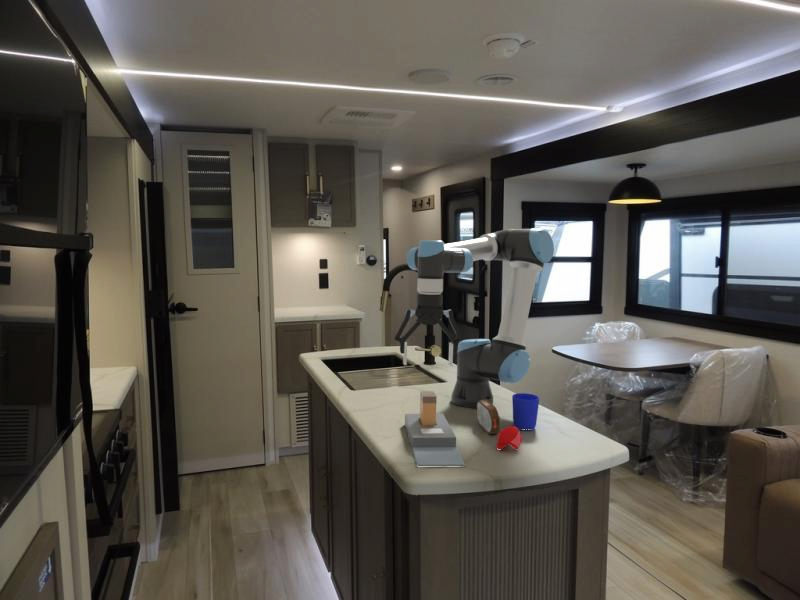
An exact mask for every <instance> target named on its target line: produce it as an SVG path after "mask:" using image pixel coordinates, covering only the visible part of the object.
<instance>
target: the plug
mask: <svg viewBox="0 0 800 600" xmlns="http://www.w3.org/2000/svg"><path fill="white" fill-rule="evenodd" d="M419 397H420V398H419V402H420V403H419V414H420V424H421V425H436V414H437V395H436V393H435V391H433V390H431V391H430V390H429V391H425V390H423V391H422V390H421V391H420V396H419Z"/></svg>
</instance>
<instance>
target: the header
mask: <svg viewBox="0 0 800 600" xmlns="http://www.w3.org/2000/svg"><path fill="white" fill-rule="evenodd" d="M404 427H405V430H406V433H407V437H408V439H409V443H411V444H410V447H411V450H412V451H413V447H456V448H457V436H456V434H455V432H454V431H453V429H452V427H451V425H450V424H449V422H448V420H447V418H446V416H445V415H444V413H436V425H421V424H420V413H404Z"/></svg>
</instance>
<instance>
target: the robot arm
mask: <svg viewBox="0 0 800 600" xmlns="http://www.w3.org/2000/svg"><path fill="white" fill-rule="evenodd" d="M554 248H555V245H554V241H553V239H552V236H551V233H549V232H548V230H546V229H544V228H536V227H532V228H507V229H502V230H497V231H494V232H490V233H486V234H482V235H480V236H479V237H477V238H473V239H467V240H461V241H455V242H448V243H445V242H444V241H443V240H433V239H432V240H429V239H428V240H427V239H422V240H420V241H419V243H418V247H417V246H416V247H412V248H411V249H409V250H408V252H407V253H406V264H407V266H408V267H409V269H411V270H412V271H417V286H416V287H417V289H416V291H417V292H418V293H417V294H416V309H410V308H406V309H405V314H404V317H403V319H402V321H401V323H400V325H399V327H398V329H397V331H395V332H396V333H395V334H394V336H393V339H394V341H397V342H399V352H400V354H403V360H402V364H403V365H404V366H408V362H407V361H408V342H407V339H409V337H410V336H411V335H412V334H413V333H414V332H415V331H417V328H419V327H420V326H421V325H423V326H428V325H431V326H435V325H438V326H439V327H440V328H441V330H442V331H443V332H444V333H445V335H447V337H448V338H449V340H450V342H448V365H449V366H453V362H454V361H453V360H454V359H453V358H454V355H457V356H456V382H455V385H454V386H453V390H452V391H451V392H452V393H451V396H450V397H451V399H450V402H451V403H452V404H454V405H456V406H460V407H463V408H464V407H465V408H472V409H473V408H474V409H477V402H478V401H479V400H486V399H487V400H488V401H489V402H490V403H491V404H493V405H494V395H493V391H492V388H491V385H490V379H492V380H496V381H500V382H503V383H509V384H517V383H519V382H521V381H522V380H523V379H524V378H525V377H526V375H527V373H528V372H529V370H530V365H531V359H530V357H531V356H530V354H529V353H528V352H527V351H526V349H527V345H526V343H525V342H524V338H525V332H526V327H527V323H528V318H529V313H530V310H531V309H530V308H531V304H532V301H533V296H534V295H533V294H534V290H535V285H536V282H537V281H536V280H537V275H538V274H539V273H540V272H542V271H543V269H544V265H545V264H547V263H549V262H551V260H552V259H553V255H554V252H555V249H554ZM479 260H480V261H481V260H483V261H486V262H491V261H504V262H505V261H506V262H509V263H508V264H509V265H510V267H511V268H512V269H511V273H510V274H511V275H510V279H509V283H508V288H507V293H506V296H505V297H506V298H505V302H504V305H503V310H502V316H501V321H500V324H499V328H498V333H497V335H496V336H495V337H493V338H492V340H490V339H489V338H470V339H464V337H463V335H462V334H461V331H460V329H459V326H458V325H457V322H456V320H455V318H454V311H453V310H452V309H450V308H449V309H447V310H443V300H444V299H443V297H444V296H443V294H442V293H443V291H444V273H448V274H449V273H451V274H452V273H454V274H455V273H456V274H458V273H459V274H461V273H466V272H469V270H471V268H472V266H473V264H474V262H476V261H479ZM413 315H415V316H416V318H417V319H416V320H414V323H413V324H412V325H411V326H409V328H408V329H407V330H406V332H405V333H404V334H403V332H404V330H405V328H406V326H407V325H408V322H409V320H410V318H412V317H413ZM444 315H445V317H446V318H448V321H449V323H450V325H451V327H452V329H453V331H454V334H455V336H454V335H453V334H452V332H451V331H450V330H449V329H448V327H447V326H446V325H445V323H443V321H442V320H441V319H442V318H443V316H444ZM402 334H403V335H402Z"/></svg>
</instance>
